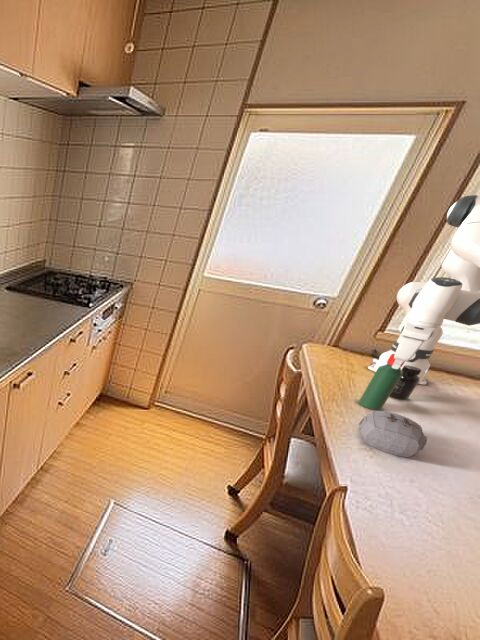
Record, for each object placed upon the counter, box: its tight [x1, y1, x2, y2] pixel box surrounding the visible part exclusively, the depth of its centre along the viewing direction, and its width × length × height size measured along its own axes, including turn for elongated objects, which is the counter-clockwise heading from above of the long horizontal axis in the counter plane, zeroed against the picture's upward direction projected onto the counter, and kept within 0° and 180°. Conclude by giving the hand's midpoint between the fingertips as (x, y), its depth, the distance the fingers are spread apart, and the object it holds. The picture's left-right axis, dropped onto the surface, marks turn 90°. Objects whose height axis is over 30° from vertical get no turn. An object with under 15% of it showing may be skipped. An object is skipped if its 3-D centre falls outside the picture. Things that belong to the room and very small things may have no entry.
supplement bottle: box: [389, 365, 421, 401], centre depth 158 cm, size 7×7×12 cm
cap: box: [387, 354, 405, 367], centre depth 143 cm, size 4×4×3 cm
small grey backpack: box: [358, 410, 428, 458], centre depth 128 cm, size 15×8×20 cm
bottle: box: [358, 364, 403, 411], centre depth 147 cm, size 6×6×19 cm
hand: (395, 366), depth 144 cm, fingers closed on cap, 3 cm apart
